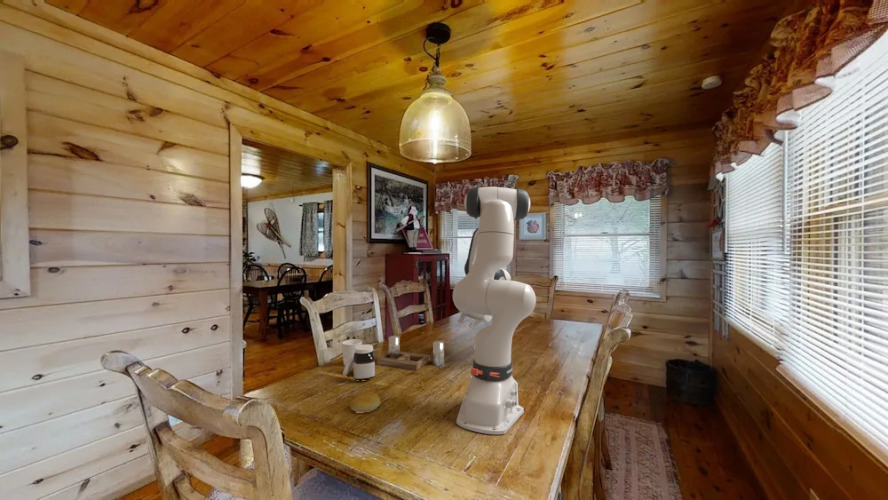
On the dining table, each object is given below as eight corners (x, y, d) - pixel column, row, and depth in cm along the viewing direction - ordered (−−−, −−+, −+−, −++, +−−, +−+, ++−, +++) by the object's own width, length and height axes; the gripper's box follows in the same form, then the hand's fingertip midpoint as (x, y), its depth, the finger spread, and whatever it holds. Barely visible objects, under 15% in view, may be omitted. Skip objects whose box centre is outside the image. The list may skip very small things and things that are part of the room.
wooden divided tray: (416, 373, 130) (416, 364, 130) (376, 367, 137) (376, 358, 137) (429, 363, 141) (429, 355, 141) (392, 357, 148) (392, 350, 148)
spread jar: (376, 381, 123) (376, 349, 123) (344, 386, 119) (344, 353, 118) (371, 370, 134) (371, 341, 134) (341, 374, 130) (341, 344, 130)
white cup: (342, 364, 141) (341, 340, 141) (361, 362, 143) (361, 338, 143) (342, 370, 133) (342, 345, 133) (362, 368, 136) (362, 343, 136)
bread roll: (345, 412, 101) (345, 398, 101) (363, 399, 109) (363, 387, 109) (368, 417, 98) (368, 403, 98) (385, 403, 106) (385, 391, 106)
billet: (441, 369, 135) (441, 344, 135) (431, 367, 136) (431, 343, 136) (445, 365, 139) (445, 341, 139) (435, 364, 141) (435, 340, 140)
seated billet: (396, 363, 138) (396, 339, 138) (386, 361, 140) (386, 337, 140) (401, 359, 142) (401, 336, 142) (392, 358, 144) (392, 335, 144)
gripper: (467, 292, 156) (448, 316, 151) (493, 299, 137) (473, 325, 133) (475, 301, 158) (457, 324, 153) (502, 309, 139) (482, 335, 135)
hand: (464, 325), depth 143 cm, fingers open, 8 cm apart
